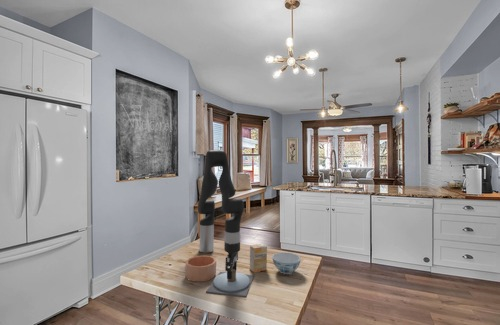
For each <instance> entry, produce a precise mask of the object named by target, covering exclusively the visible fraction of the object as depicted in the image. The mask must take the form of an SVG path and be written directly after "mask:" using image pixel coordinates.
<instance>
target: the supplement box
mask: <svg viewBox="0 0 500 325" xmlns="http://www.w3.org/2000/svg"><path fill="white" fill-rule="evenodd" d="M267 258H268V246H267V245H266V244H264V243H261V244H255V245H254V244H253V245H250V246H249V270H250V271H251V272H252V273H258V272H259V273H260V272H261V271H262V272H263V271H267V270H268V269H267V267H268V266H267V263H268V262H267V260H268V259H267Z"/></svg>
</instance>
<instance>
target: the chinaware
mask: <svg viewBox="0 0 500 325" xmlns="http://www.w3.org/2000/svg"><path fill="white" fill-rule="evenodd" d="M301 260H302V259H301V257H300V255H298V254H296V253H293V252H285V251H283V252H276V253H274V254H272V262H273V265H274V266H275V268H276V269H277V270H278V271H279V273H280V274H282V273H284V274H283V275H285V274H289V275H292V274H293V273H292V272H295V271H296V270H297V269H298V268H299V266H300V264H301V262H302V261H301ZM291 273H292V274H291Z"/></svg>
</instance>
